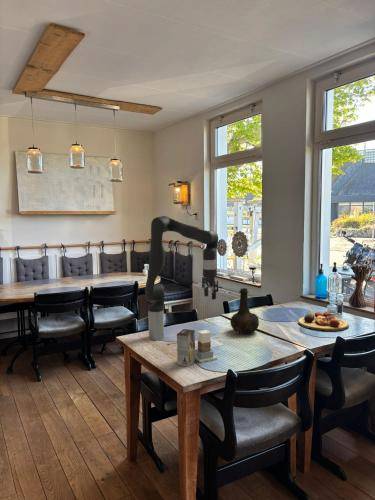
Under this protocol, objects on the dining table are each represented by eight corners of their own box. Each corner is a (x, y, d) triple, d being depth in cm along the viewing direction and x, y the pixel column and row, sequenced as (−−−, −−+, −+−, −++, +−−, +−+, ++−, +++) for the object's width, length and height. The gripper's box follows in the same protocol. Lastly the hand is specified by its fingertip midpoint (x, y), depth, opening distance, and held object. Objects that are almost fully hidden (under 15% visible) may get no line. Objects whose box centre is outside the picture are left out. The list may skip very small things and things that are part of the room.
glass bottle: (258, 337, 230) (258, 291, 227) (229, 335, 234) (229, 291, 231) (259, 328, 247) (259, 286, 245) (231, 327, 251) (231, 285, 248)
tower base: (191, 356, 200) (191, 349, 200) (208, 353, 205) (208, 346, 204) (200, 362, 191) (200, 355, 191) (217, 359, 196) (217, 351, 195)
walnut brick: (197, 349, 199) (197, 340, 198) (206, 348, 201) (206, 339, 201) (202, 352, 194) (202, 343, 194) (210, 351, 197) (210, 341, 196)
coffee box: (184, 358, 198) (183, 328, 196) (195, 360, 195) (195, 329, 194) (177, 365, 189) (176, 333, 188) (189, 366, 187) (188, 335, 185)
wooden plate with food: (356, 332, 238) (357, 319, 237) (305, 331, 239) (306, 319, 238) (337, 319, 270) (338, 307, 269) (292, 319, 271) (293, 307, 270)
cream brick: (197, 340, 198) (197, 331, 198) (206, 339, 200) (206, 329, 200) (202, 343, 194) (201, 333, 193) (210, 341, 196) (210, 332, 196)
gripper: (197, 266, 207) (197, 296, 208) (209, 270, 194) (210, 301, 196) (209, 265, 210) (209, 294, 212) (222, 269, 197) (222, 299, 199)
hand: (210, 297), depth 204 cm, fingers open, 8 cm apart
